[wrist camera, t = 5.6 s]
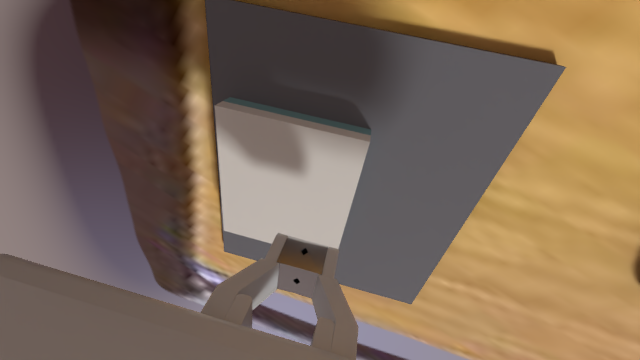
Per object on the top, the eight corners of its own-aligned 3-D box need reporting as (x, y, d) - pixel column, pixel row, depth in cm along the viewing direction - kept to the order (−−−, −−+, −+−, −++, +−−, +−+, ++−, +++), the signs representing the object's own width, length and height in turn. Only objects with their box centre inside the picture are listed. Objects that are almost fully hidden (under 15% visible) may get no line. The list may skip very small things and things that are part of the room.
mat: (211, -5, 12) (204, -5, 12) (557, 64, 11) (565, 67, 11) (227, 246, 23) (224, 251, 22) (410, 297, 21) (411, 304, 21)
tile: (371, 129, 14) (230, 97, 14) (370, 142, 12) (214, 105, 13) (338, 243, 19) (234, 215, 19) (334, 261, 18) (223, 230, 18)
